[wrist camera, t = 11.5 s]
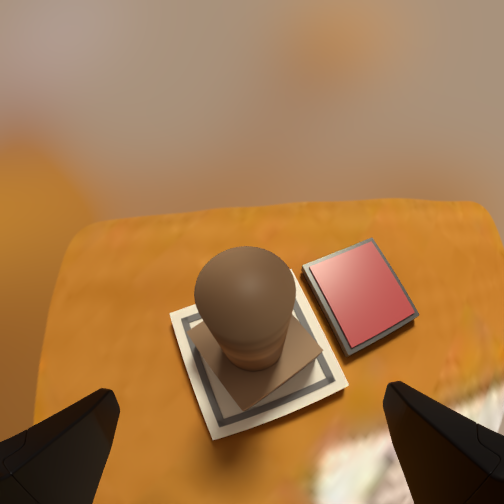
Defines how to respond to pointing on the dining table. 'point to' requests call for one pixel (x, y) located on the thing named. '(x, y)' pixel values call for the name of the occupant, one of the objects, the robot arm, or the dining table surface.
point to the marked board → (275, 404)
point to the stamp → (250, 323)
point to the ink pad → (359, 295)
